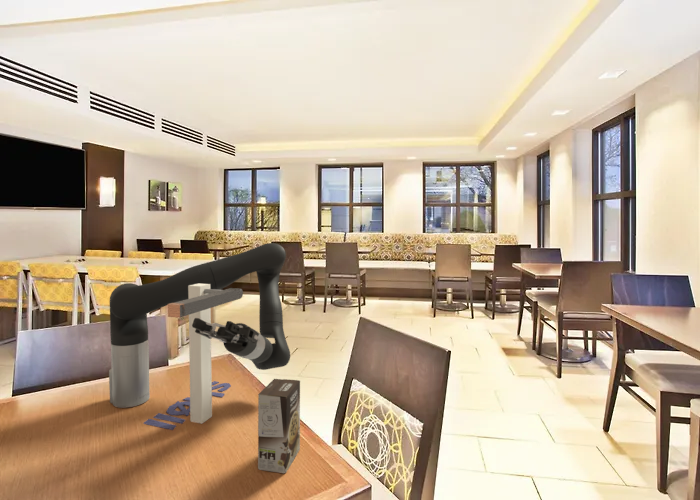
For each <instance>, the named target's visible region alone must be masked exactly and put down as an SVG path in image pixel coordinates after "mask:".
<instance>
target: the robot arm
mask: <svg viewBox="0 0 700 500" xmlns="http://www.w3.org/2000/svg"><path fill="white" fill-rule="evenodd" d="M286 253H287V252H286V250H285V249H284V247H283V246H282V245H280V244H278V243H275V242H268V243H264V244H261V245H259V246H256V247H253V248H252V249H249V250H246V251H243V252H240V253H237V254H234V255H230V256H226V257H223V258H219V259H216V260H213V261H207V262H204V263H200V264H197V265H193V266H191V267H188V268H186V269H183V270H180V271H179V272H177V273H174V274H173V275H171V276H169V277H167V278H164V279H162V280H158V281H154V282H150V283H145V284H139V285H138V284H136V283H131V282H130V283H128V282H127V283H123V284H120V285H118V286H117V287H115V288H114V289H113V291H112V292H111V294H110V296H109V322H110V325H109V331H110V350H111V351H110V354H111V368H110V369H108V370H109V371H108V379H109V380H108V382H109V384H108V385H109V403H110V404H112V406H114V407H115V408H122V409H123V408H133V407H136V406H139V405H142V404H144V403H146V402H147V401H149V400H150V397H151V396H150V354H149V353H150V352H149V350H150V349H149V326H148V325H149V324H148V314H150V313H152V312H154V311H156V310H159V309H161V308H163V307H166V306H167V307H168V304H170V303H175V302H179V301H183V300H187V299H189V297H188V286H189V285H194V284H199V283H200V284H210V289H216V290H224V288H225V289H226V288H227V287H228V286H230V285H231V284H233V283H235V282H236V281H238V280H239V279H241V278H242V277H243V278H244V277H245V276H246V275H248V274H251V273H256V276H257V277H256V278H257V281H258V289H259V317H258V318H259V320H258V321H259V332H258V331H257V330H256V329H254V328H252V327H251V326H249V325H247V324H245V323H243V322H239V323H238V322H236V323H235V322H233V321H230V320H227V321H226V323H225V325H223V324H221V323H219V322H218V323H217V322H214V323H211V324H210V323H207V322H205V321H203V320H201V319H199V318H195V319H194V321H193V324H192V327H193V328H195V329H196V330H195V332H196V333H198V334H200V335H203V336H205V337H207V338H209V339H210V338H211V340H212V339H215V340H218V341H219V342H221V343H223V346H224V348H225V349H226V351H228V352H229V353H231V354H233V355H235V356H238V357H240V358H243V359H246V360H249V361H251V362H252V363H253V364H254V367H255V368H256V369H257V370H263V371H265V370H270V369H277V368H282V367H285V366H287V365H288V363H289V362H290V360H291V352H290V348H289V345H288V342H287V339H286V336H285V331H284V322H283V321H284V319H283V317H284V315H283V307H282V301H281V298H280V292H279V291H280V290H279V282H280V275H281V274H280V273H281V271H282V269H283V267H284V264H285V261H286V258H287V257H286V256H287V255H286ZM217 327H218V328H217ZM216 328H217V331H216ZM269 339H274V342H273V343H272V342H271V341H270V340H269Z"/></svg>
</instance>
